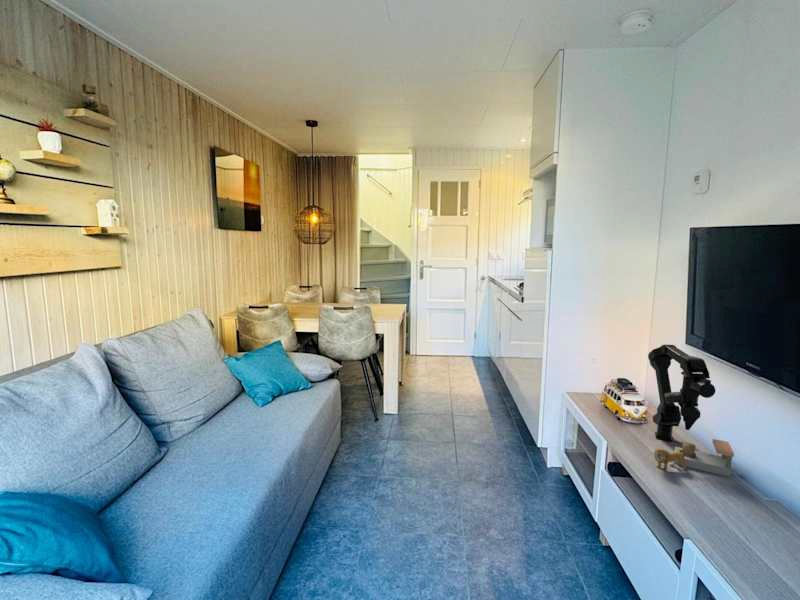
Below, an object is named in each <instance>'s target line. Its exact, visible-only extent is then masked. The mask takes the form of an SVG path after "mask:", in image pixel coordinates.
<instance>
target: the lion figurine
mask: <svg viewBox="0 0 800 600" xmlns="http://www.w3.org/2000/svg"><path fill="white" fill-rule="evenodd" d="M653 455H654V458H655V461H656V462H657V464H658V465H656V468H657V469H660V468H661V467H662V464H663V465H664V466H663V469H662V471H663V472H667V471H668V465H669V463H670V467H675V466H676V465H677V460H678V461H679V462H680V463H681V464H682V465H683V466H682V468H681V470H682V471H686V470H687V467H686V464H685V458H684V455H683V454H682V453H681V452H678V451H675V450H673V451H668V450H666V449H665V448H663V447H657V448H656V449H654V453H653Z"/></svg>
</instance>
